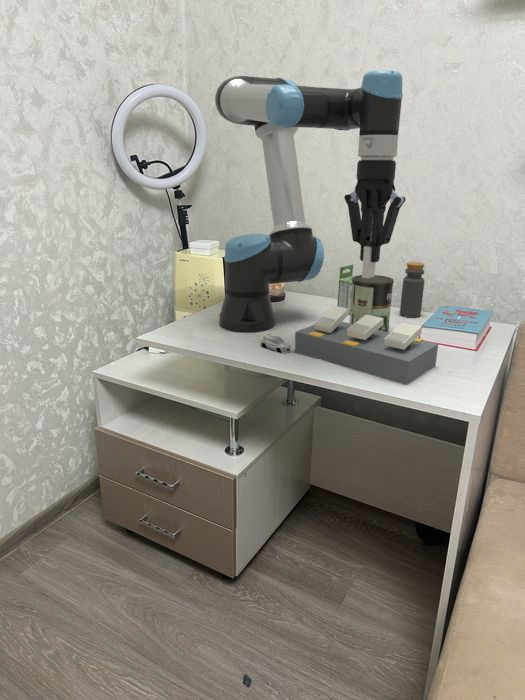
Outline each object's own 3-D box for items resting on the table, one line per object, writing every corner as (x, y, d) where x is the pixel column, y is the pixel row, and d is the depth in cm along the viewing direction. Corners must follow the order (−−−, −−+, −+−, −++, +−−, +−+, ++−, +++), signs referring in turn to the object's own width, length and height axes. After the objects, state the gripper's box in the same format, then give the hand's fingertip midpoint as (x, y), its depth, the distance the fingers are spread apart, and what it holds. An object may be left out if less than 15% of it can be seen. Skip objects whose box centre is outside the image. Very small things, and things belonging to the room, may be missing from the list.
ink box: (347, 315, 151) (350, 269, 147) (336, 312, 154) (339, 267, 149) (361, 310, 156) (364, 265, 151) (350, 308, 158) (353, 264, 154)
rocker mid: (347, 335, 115) (347, 328, 114) (366, 320, 120) (366, 313, 119) (365, 340, 113) (364, 332, 112) (383, 324, 118) (383, 317, 117)
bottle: (395, 314, 152) (400, 263, 147) (407, 311, 156) (412, 260, 151) (412, 319, 148) (418, 266, 143) (424, 315, 152) (430, 263, 147)
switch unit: (294, 352, 122) (295, 325, 120) (328, 337, 132) (330, 312, 130) (406, 384, 105) (409, 354, 103) (435, 365, 115) (439, 337, 113)
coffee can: (388, 327, 141) (393, 275, 136) (389, 339, 131) (394, 284, 126) (349, 324, 143) (352, 273, 138) (347, 336, 133) (351, 282, 128)
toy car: (283, 355, 121) (284, 343, 120) (258, 347, 126) (259, 335, 125) (294, 351, 123) (294, 339, 122) (269, 343, 129) (269, 331, 128)
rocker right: (384, 344, 110) (384, 337, 109) (402, 328, 115) (402, 321, 114) (403, 349, 107) (404, 342, 106) (421, 333, 112) (421, 325, 111)
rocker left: (314, 329, 121) (313, 323, 120) (333, 310, 126) (332, 304, 125) (330, 333, 118) (329, 326, 117) (349, 314, 123) (348, 308, 122)
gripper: (338, 158, 105) (332, 275, 113) (397, 158, 97) (387, 284, 105) (358, 159, 111) (351, 270, 119) (416, 159, 103) (404, 278, 111)
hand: (368, 276), depth 112 cm, fingers closed
